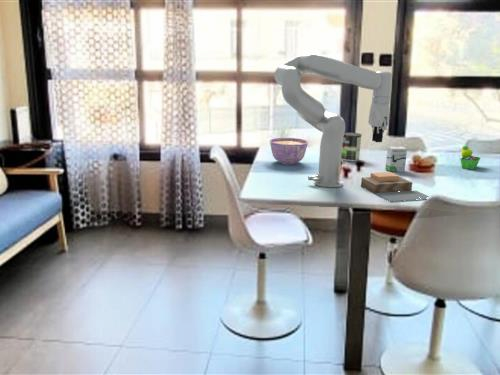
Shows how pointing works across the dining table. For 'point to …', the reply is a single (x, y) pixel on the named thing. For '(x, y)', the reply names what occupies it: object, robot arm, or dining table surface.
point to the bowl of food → (288, 149)
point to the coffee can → (351, 146)
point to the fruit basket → (468, 159)
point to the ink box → (396, 159)
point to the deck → (386, 185)
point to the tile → (384, 176)
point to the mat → (402, 195)
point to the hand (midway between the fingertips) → (377, 141)
